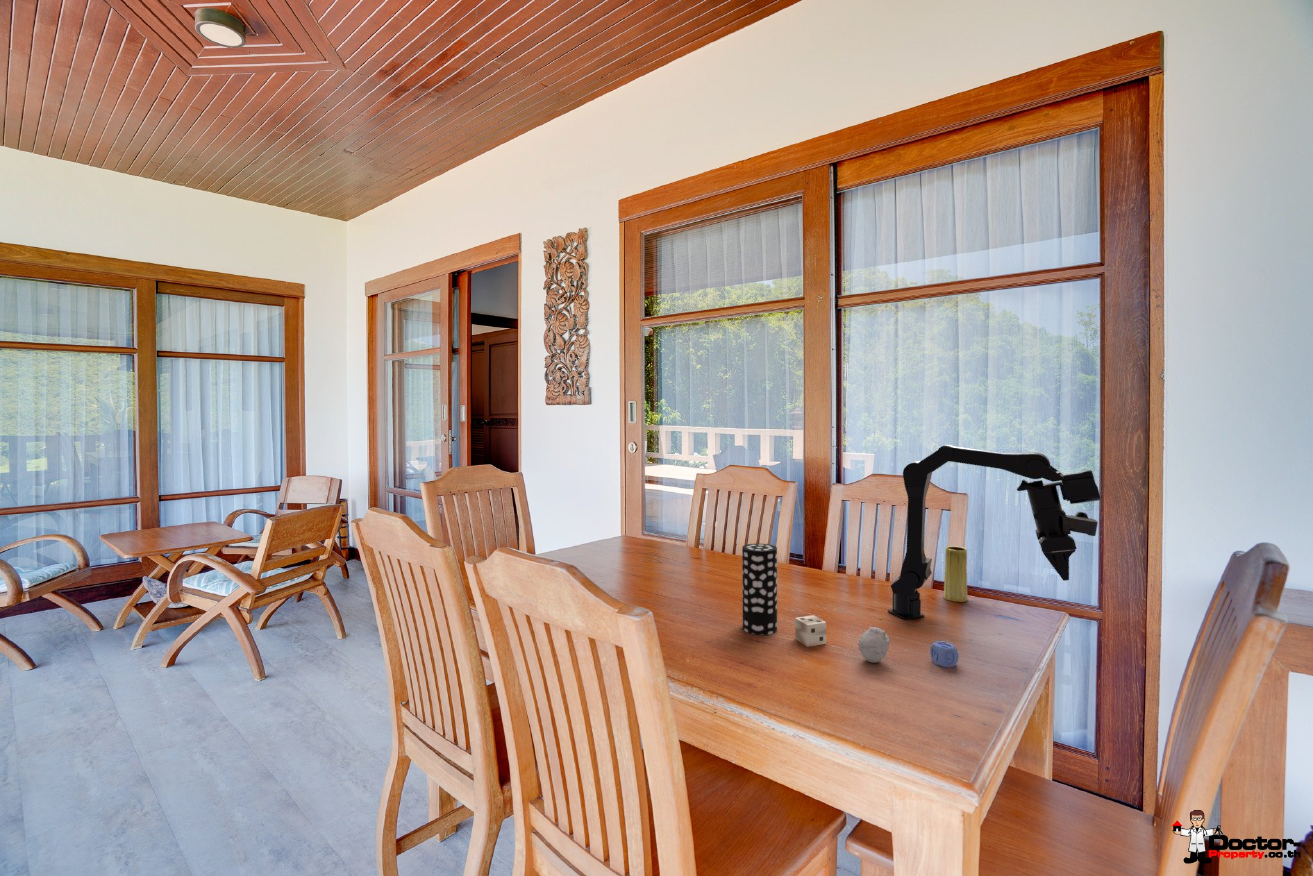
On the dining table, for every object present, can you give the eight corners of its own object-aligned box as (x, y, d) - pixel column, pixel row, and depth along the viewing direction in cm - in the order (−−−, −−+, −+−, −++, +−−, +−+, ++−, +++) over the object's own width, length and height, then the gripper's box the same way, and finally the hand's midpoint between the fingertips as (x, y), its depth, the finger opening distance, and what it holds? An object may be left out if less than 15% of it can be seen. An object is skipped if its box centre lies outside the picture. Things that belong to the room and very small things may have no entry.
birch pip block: (795, 639, 136) (795, 617, 136) (813, 636, 138) (813, 614, 137) (807, 647, 131) (807, 624, 131) (826, 644, 133) (826, 622, 133)
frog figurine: (896, 662, 123) (896, 629, 123) (876, 670, 119) (876, 637, 119) (870, 652, 128) (871, 621, 128) (851, 660, 124) (851, 628, 123)
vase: (965, 596, 165) (966, 546, 165) (969, 603, 159) (970, 551, 159) (942, 594, 167) (942, 545, 167) (945, 601, 161) (945, 550, 161)
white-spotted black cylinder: (756, 637, 137) (756, 553, 136) (735, 626, 144) (735, 546, 143) (784, 631, 141) (784, 548, 140) (762, 620, 148) (762, 542, 147)
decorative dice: (948, 659, 124) (948, 640, 124) (958, 667, 120) (959, 648, 120) (929, 659, 124) (930, 641, 124) (939, 668, 120) (939, 648, 120)
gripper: (1095, 506, 121) (1115, 582, 120) (1083, 496, 137) (1100, 562, 136) (1032, 515, 126) (1051, 586, 125) (1028, 504, 143) (1044, 567, 141)
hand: (1063, 575), depth 132 cm, fingers open, 9 cm apart
